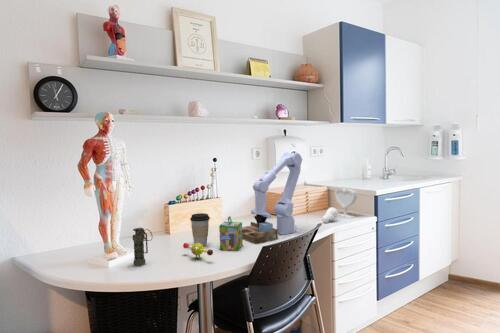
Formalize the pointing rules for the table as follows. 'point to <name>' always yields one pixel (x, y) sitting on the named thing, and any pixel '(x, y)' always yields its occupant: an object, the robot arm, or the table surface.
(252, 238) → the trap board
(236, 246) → the green printed box
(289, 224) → the robot arm
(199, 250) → the toy figure
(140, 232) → the grenade
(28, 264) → the table surface
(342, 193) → the heart sculpture
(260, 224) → the block
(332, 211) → the penguin figurine
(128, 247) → the table surface
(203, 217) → the coffee cup
